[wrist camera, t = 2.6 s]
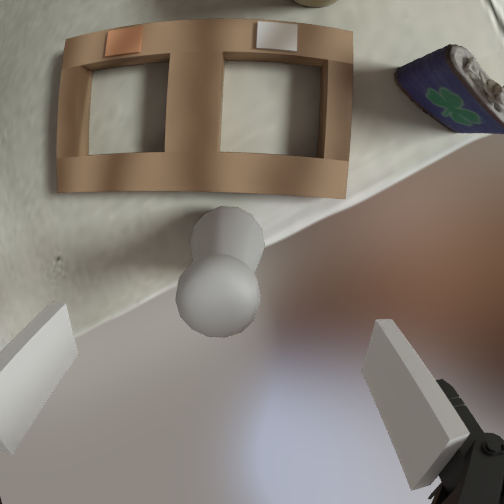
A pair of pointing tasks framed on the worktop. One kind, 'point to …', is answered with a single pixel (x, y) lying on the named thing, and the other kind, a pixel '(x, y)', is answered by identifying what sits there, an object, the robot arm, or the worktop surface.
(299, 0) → the flower pot
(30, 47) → the worktop surface
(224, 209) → the salt shaker
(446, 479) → the robot arm
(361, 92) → the worktop surface
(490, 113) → the flask
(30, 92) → the worktop surface
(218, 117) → the socket board
